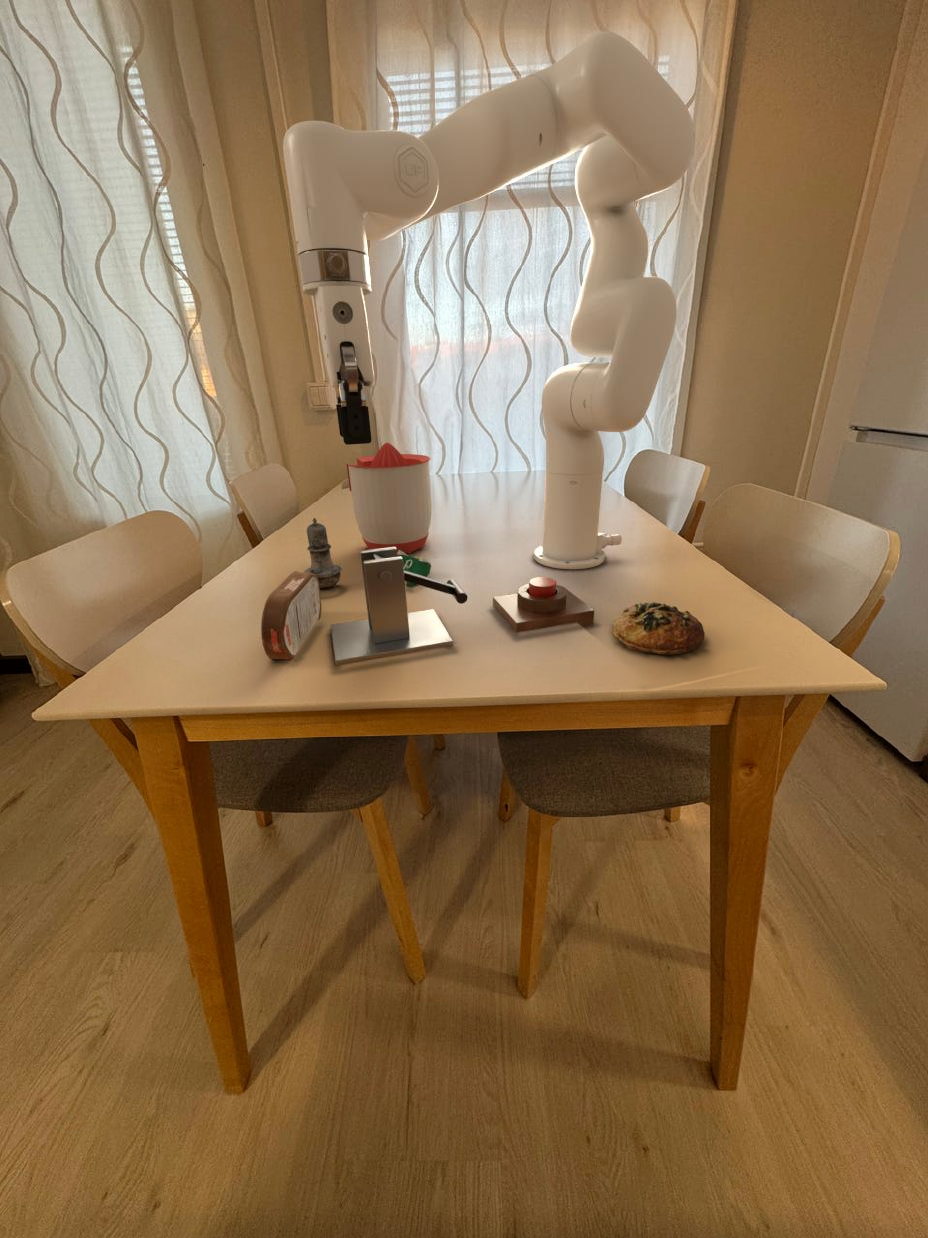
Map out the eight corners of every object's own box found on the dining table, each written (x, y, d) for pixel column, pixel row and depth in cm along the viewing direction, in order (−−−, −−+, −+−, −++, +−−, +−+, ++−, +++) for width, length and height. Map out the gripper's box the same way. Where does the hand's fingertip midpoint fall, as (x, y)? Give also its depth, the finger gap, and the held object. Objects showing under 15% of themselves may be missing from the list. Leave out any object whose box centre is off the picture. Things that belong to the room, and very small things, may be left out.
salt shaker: (335, 599, 77) (323, 523, 72) (300, 597, 78) (286, 522, 73) (350, 585, 82) (340, 513, 77) (318, 583, 84) (305, 512, 78)
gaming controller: (422, 598, 81) (440, 566, 82) (408, 587, 78) (427, 555, 79) (386, 585, 87) (403, 556, 88) (372, 575, 84) (389, 544, 85)
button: (548, 587, 70) (549, 575, 69) (560, 596, 66) (561, 584, 66) (524, 590, 69) (524, 578, 68) (535, 600, 66) (535, 588, 65)
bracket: (434, 618, 70) (428, 536, 65) (453, 651, 61) (448, 560, 56) (332, 634, 67) (318, 549, 61) (337, 672, 58) (321, 576, 53)
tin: (307, 617, 72) (296, 562, 68) (328, 617, 71) (319, 561, 68) (266, 673, 58) (250, 607, 54) (293, 673, 58) (279, 607, 54)
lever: (452, 594, 66) (459, 577, 66) (463, 608, 62) (470, 591, 61) (365, 568, 62) (371, 550, 61) (370, 581, 57) (377, 562, 57)
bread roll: (724, 650, 59) (726, 612, 57) (635, 672, 58) (633, 634, 56) (673, 615, 69) (673, 581, 67) (597, 633, 68) (594, 599, 66)
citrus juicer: (363, 535, 109) (351, 438, 101) (441, 535, 107) (436, 436, 98) (337, 558, 96) (321, 448, 87) (426, 559, 93) (419, 446, 84)
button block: (562, 600, 74) (564, 574, 73) (593, 625, 67) (595, 597, 65) (492, 611, 72) (492, 585, 70) (516, 638, 64) (516, 610, 62)
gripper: (378, 261, 49) (394, 445, 56) (363, 290, 64) (377, 432, 71) (298, 259, 47) (325, 449, 55) (302, 289, 62) (323, 435, 70)
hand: (355, 439), depth 63 cm, fingers open, 9 cm apart
